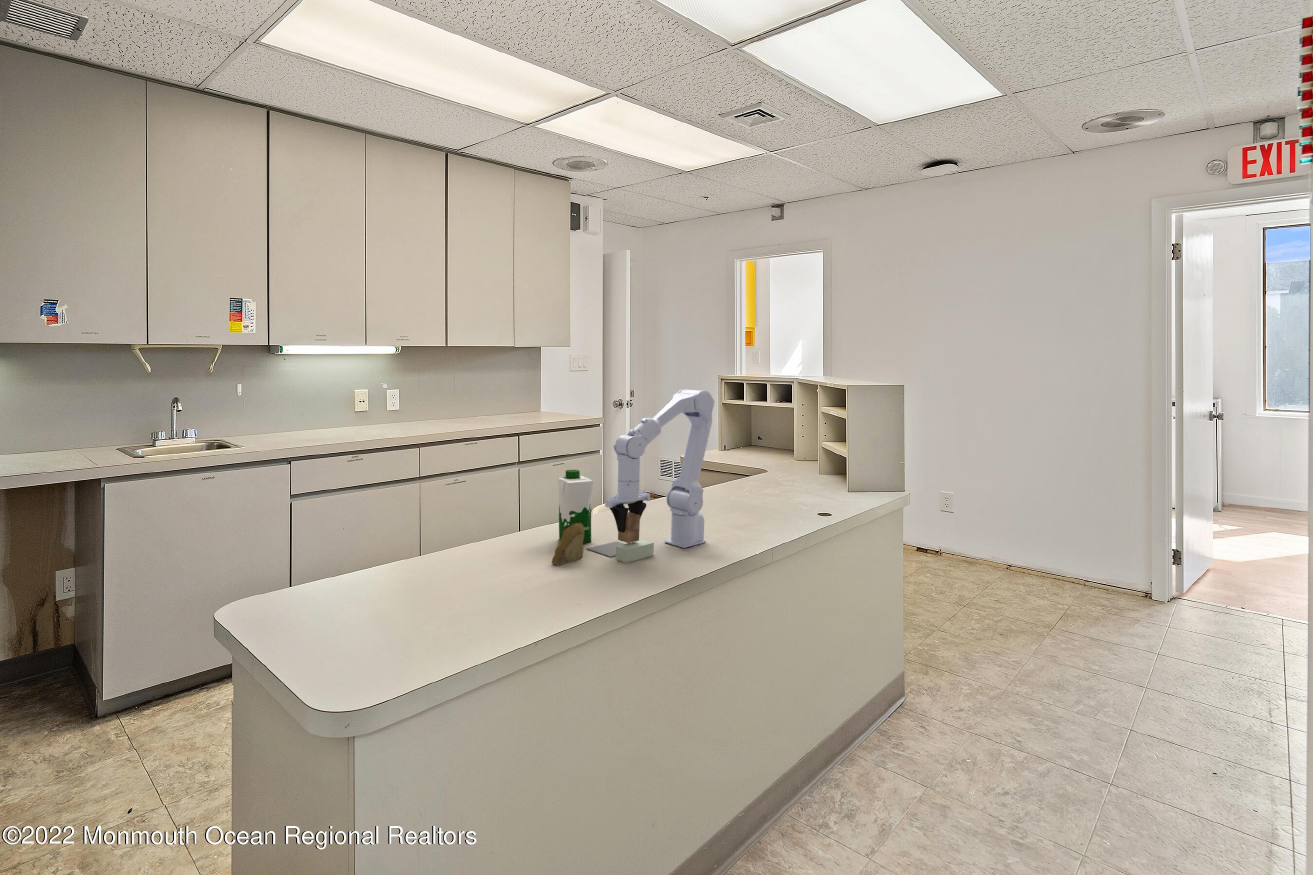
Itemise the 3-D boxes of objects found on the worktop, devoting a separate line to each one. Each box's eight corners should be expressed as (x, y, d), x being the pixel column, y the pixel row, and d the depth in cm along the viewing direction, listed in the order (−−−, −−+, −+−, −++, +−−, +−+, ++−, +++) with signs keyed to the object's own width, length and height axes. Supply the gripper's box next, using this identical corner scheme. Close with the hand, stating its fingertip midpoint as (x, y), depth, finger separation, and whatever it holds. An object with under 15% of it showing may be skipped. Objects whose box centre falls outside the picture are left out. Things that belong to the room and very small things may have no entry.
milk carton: (582, 535, 203) (583, 468, 201) (595, 542, 195) (596, 473, 193) (554, 538, 199) (555, 470, 196) (567, 546, 191) (567, 475, 188)
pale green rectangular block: (643, 552, 187) (643, 539, 187) (653, 555, 184) (653, 542, 184) (615, 559, 180) (615, 546, 180) (626, 562, 177) (626, 549, 177)
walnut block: (628, 537, 186) (629, 511, 185) (639, 540, 184) (640, 515, 183) (617, 539, 183) (618, 514, 183) (628, 543, 181) (629, 517, 180)
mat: (616, 542, 196) (616, 541, 196) (640, 549, 189) (640, 548, 189) (586, 549, 189) (586, 548, 189) (610, 557, 182) (610, 556, 181)
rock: (557, 560, 170) (593, 550, 175) (546, 529, 173) (582, 520, 178) (548, 575, 179) (583, 565, 184) (537, 545, 182) (572, 536, 187)
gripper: (638, 475, 190) (637, 523, 191) (597, 481, 180) (597, 531, 181) (656, 478, 185) (654, 528, 186) (615, 485, 175) (614, 537, 176)
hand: (627, 530), depth 183 cm, fingers closed on walnut block, 4 cm apart
